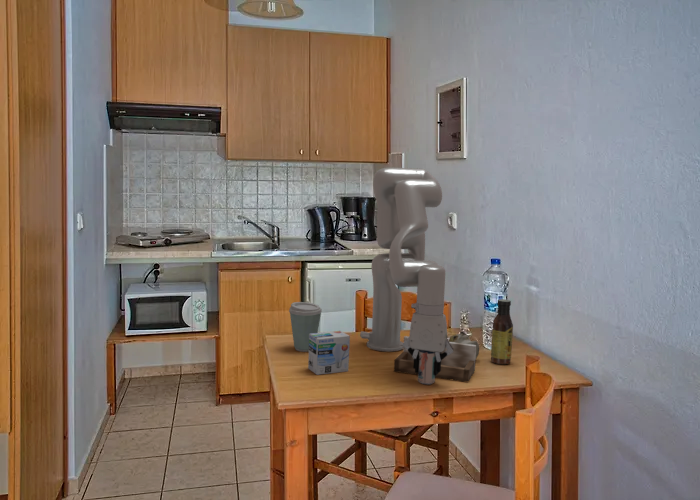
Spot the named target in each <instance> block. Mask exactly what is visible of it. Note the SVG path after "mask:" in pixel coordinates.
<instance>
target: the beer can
mask: <svg viewBox="0 0 700 500" xmlns="http://www.w3.org/2000/svg"><path fill="white" fill-rule="evenodd" d="M435 361H436V356H435V352H431V351H425V350H419V365H418V375H417V382H418V383H420V384H422V385H426V386H427V385H428V386H429V385H432V384H434V383H435V382H436V377H435V375H434V362H435Z"/></svg>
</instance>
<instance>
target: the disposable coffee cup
mask: <svg viewBox="0 0 700 500" xmlns="http://www.w3.org/2000/svg"><path fill="white" fill-rule="evenodd" d="M288 312H289V315H290V316H289V317H290V324H291V325H290V326H291V332H292V340H293V347H294V348H295V351H298V352H303V353H307V352H308V353H309V334H311V333H319V326H320V321H321V315H322V313H323V311H322V308H321V307H320V306H319V305H318V304H316V303H312V302H306V301H305V302H304V301H303V302H302V301H296V302H295V301H294V302H292V303H291V304H290V307H289V310H288Z"/></svg>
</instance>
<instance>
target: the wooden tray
mask: <svg viewBox="0 0 700 500" xmlns="http://www.w3.org/2000/svg"><path fill="white" fill-rule="evenodd" d="M408 337H409V335H408V336H407V335H404V336H403V343H404V342H405V341H406V340H407V339H408ZM449 343H450V344H451V346H452V347H453V349H454V351H453V353H451V354H449V355H448V356H446V357H445V358H444V359H442V360H441V371H440V372H439V373H438V374H437V376H435V379H436V378H439V379H444V380H450V379H453V380H452V381H457V380H461V381H460V382H464V381H469V382H470V380H471V378H472V377H471V376H473V375H474V373H475V372H474V371H476V359H477V358H476V345H471V344H463V343H455V342H449ZM445 351H447V348H445V349H444V350H443V351H442V353H443V352H445ZM393 363H394V365H393V372H394V373H395V372H398V373H403V374H409V375H410V374H411V375H417V376H418V372H417V373H415V369H414V368H413V364H414V358H413V357H412V355H411V354H410V353H409V352H408V350H407V349H406V348H405V347H404V346H403V349H402V352H401V353H400V354H398V356H396V358H395V359H394V361H393ZM472 374H473V375H472Z"/></svg>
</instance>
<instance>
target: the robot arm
mask: <svg viewBox="0 0 700 500" xmlns="http://www.w3.org/2000/svg"><path fill="white" fill-rule="evenodd" d="M372 181H373V182H372V184H373V185H372V186H373V193H374V198H375V201H376V204H377V205H376V206H377V207H376V208H377V213H376V214H377V215H376V216H377V218H376V220H377V221H376V222H377V223H376V224H377V225H376V238H377V239H376V240H377V245H378V246H379V248H381V249H385V250H389V252H385V253H380V254H377V255H375V256H374V257H373V259H372V261H371V274H372V275H371V277H372V284H373V285H372V287H373V288H372V289H373V293H372V294H373V295H372V320H371V321H372V323H371V324H372V325H371V326H372V327H371V331H369V332H368V331H360V338H361V339H367V342H366V347H367V348H369V349H371V350H373V351H379V352H399V351H401V350H402V351H403V346H404V347H405V348H406V349H407V350H408V352H409V353H410V354H411V355H412V357H413V358H414V364H413V368H414V369H415V373H417V372H418V365H419V350H425V351H431V352H435V356H436V361H435V362H434V375H435V376H437V374H438V373H439V372H440V371H441V360H442V359H444V358H445V357H446V356H448V355H449V354H451V353H453V351H454V349H453V347H452V346H451V344H450V343H449V339H448V324H447V317H446V314H444V306H445V291H446V289H445V288H446V269H445V268H444V267H443V265H439V263H437V262H436V261H433V260H425V257H426V256H425V253H426V233H425V232H426V231H427V230H428V229H429V221H428V217H427V216H428V215H427V210H426V208H437V207H439V206H440V205H441V202H442V201H443V191H442V187H441V185H440V183H439V181H438V180H437V179H436V177H434V176H433V175H432V173H430V172H429V171H428V170H427V169H423V168H418V167H417V168H414V167H413V168H412V167H383V168H380V169H378V170H377V171H376V172H375V174H374V175H373V180H372ZM402 250H407V251H408V253H406V252H405V253H404V252H403V253H402ZM399 287H400V288H409V287H410V288H411V287H412V288H417V289H416V302H414V303H411V309H414V310H415V312H413V313H412V316H411V323H410V329H409V335H408V339H407V340H406V341H405V342H404V341H401V328H402V327H401V324H402V323H401V322H402V321H401V320H402V306H403V305H402V301H403V300H402V299H403V296H402V295H403V294H402V293H401V291H400V289H399ZM445 348H447V351H445V352H443V353H442V351H443V350H444V349H445Z"/></svg>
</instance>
